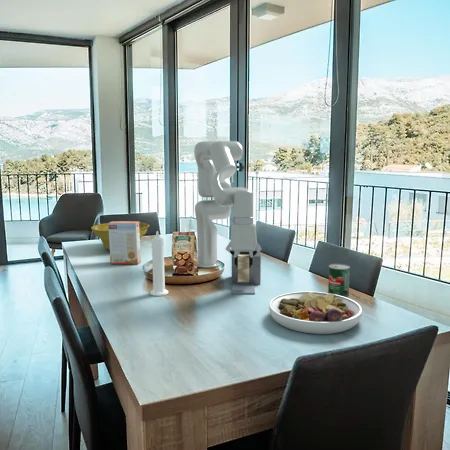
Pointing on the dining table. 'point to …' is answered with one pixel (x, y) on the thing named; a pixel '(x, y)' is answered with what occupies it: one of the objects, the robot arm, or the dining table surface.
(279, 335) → the dining table surface
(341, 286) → the canned tomato
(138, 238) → the cracker box
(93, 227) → the planter bowl
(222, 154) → the robot arm
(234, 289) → the mat
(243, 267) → the peg
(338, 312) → the bowl
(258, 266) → the post block
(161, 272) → the candle
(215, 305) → the dining table surface
